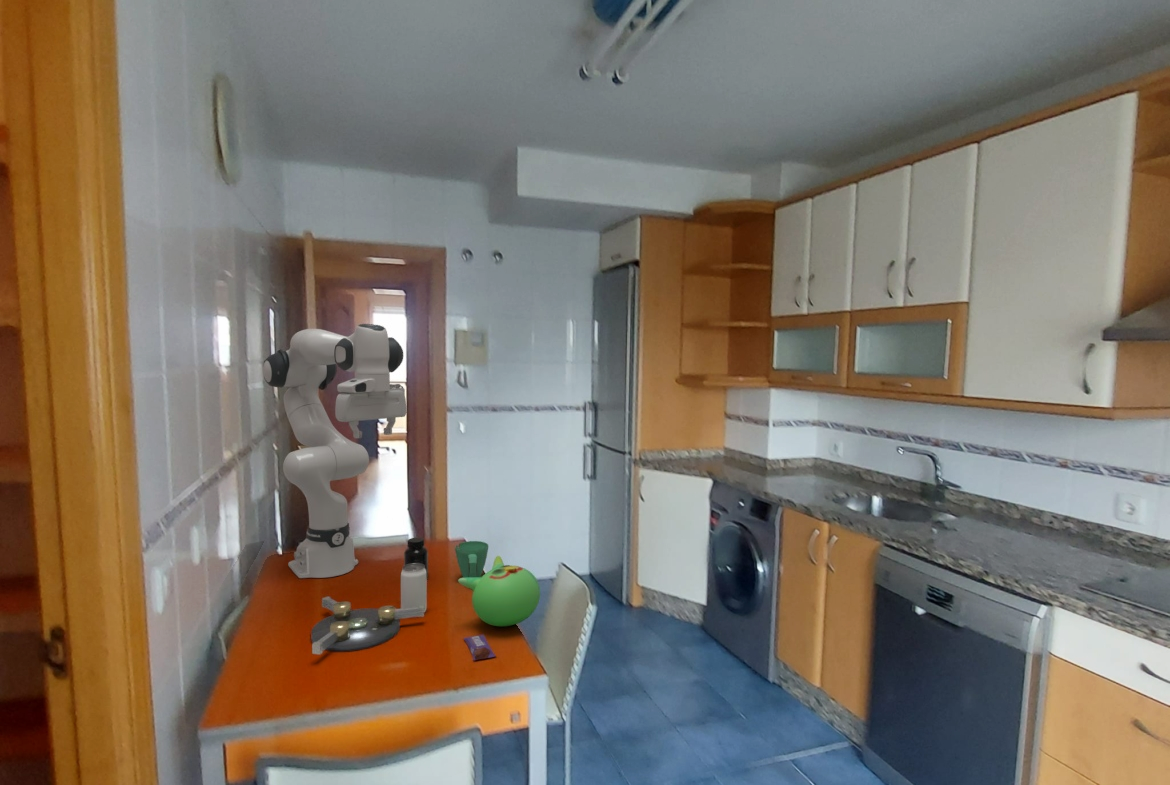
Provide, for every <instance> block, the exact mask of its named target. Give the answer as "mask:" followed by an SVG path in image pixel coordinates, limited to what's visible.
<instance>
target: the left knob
mask: <svg viewBox="0 0 1170 785" xmlns="http://www.w3.org/2000/svg"><path fill="white" fill-rule="evenodd" d="M377 609H378V622H379V623H380V624H390V623H393V622H395V619H400V620H401V619H409V618H417V617H419V618H422V617H425V612H424V605H420V606H418V607H409V608H401V607H400V608H396V606H394V605H383V606H381V607H379V608H377Z"/></svg>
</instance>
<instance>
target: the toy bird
mask: <svg viewBox="0 0 1170 785" xmlns="http://www.w3.org/2000/svg"><path fill="white" fill-rule="evenodd" d="M457 582H458V584H460V585H462V586H463V587H466V588H468V589H470V590H472V596H471V601H472V602H471V603H472V607H473V610H474V612H475V614H476V615H477V616H478V618H479V619H481V621H483V622H485V623H486V624H488V625H491V626H495V627H510V626H514V625H517V624H520V623H521V622H523V621H525V620H527V619H528V618H529V617H530V616H531V615H532V614H533V613H534V612H535V610H536V609H537V607H538V605H539V603H540V602H539V601H540V597H541V588H540V583H539V582H538V580H537V578H536V577H535V575H534V573H532V572H531V571H530V570H529V569H527V568H524V567H522V566H518V565H509V564H507V565H505V564H504V561H503V559H502V557H501V556H500V555H497V556H495V558H494V561H493V564H492V568H491V570H489V571H487V572H486V573H485V574H483V575H481V577H467V578H463V577H460V578H459V579H458V580H457Z"/></svg>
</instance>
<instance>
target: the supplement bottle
mask: <svg viewBox="0 0 1170 785" xmlns="http://www.w3.org/2000/svg"><path fill="white" fill-rule="evenodd" d="M406 546H407V548H406V549H405V550H404V553H403V554H404V556H403V557H404V559H403V560H404V562H403V563H404V564H403V566H405V565H407V564H412V563H420V564H424V565H425V567H424V568H425V570H426V578H427V579H428V576H429V552H428V549H427V548H426V547H425V538H423V537H411V538H409V539H407V545H406Z"/></svg>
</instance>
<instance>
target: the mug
mask: <svg viewBox="0 0 1170 785" xmlns="http://www.w3.org/2000/svg"><path fill="white" fill-rule="evenodd" d="M454 550H455V557H456V559H457V564H458V567H459V571H460V573H461V576H462V578H467V577H482V574H483V571H484V569H485V568H484V567H485V565H486V562H487V561H486V560H487V558H488V551H489V544H488V543H486V542H484V541H479V540H478V541H477V540H470V541H469V540H468V541H463V542H460V543H459V544H456V545H455V546H454Z"/></svg>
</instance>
